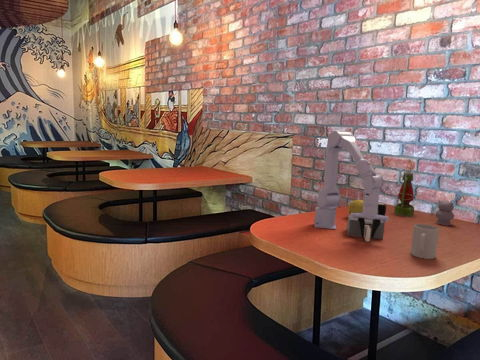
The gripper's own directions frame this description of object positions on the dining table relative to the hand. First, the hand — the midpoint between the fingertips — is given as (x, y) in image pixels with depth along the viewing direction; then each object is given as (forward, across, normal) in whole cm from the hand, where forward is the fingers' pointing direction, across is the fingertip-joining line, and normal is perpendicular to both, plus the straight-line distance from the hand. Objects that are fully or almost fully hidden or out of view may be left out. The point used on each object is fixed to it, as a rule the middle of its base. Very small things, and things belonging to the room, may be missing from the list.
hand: (367, 236), depth 162 cm
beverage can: (+2, +7, +24) cm, 25 cm away
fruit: (+2, 0, +41) cm, 41 cm away
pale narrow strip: (+2, 0, +4) cm, 4 cm away
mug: (+2, +18, -14) cm, 23 cm away
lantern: (+2, +27, +64) cm, 69 cm away
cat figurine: (+2, +43, +48) cm, 64 cm away
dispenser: (+2, 0, +10) cm, 10 cm away
